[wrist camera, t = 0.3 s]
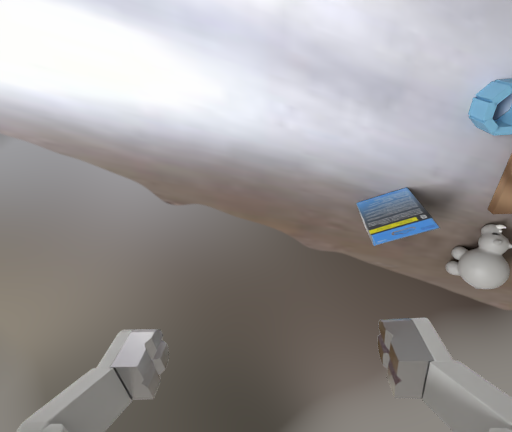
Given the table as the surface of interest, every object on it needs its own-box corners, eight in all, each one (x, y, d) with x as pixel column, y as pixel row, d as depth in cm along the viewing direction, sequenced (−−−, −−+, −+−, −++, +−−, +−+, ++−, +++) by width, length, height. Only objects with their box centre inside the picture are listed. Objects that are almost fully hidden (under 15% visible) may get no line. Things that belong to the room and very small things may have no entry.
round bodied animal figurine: (496, 224, 54) (543, 236, 46) (469, 279, 56) (508, 301, 48) (464, 213, 53) (505, 224, 45) (437, 270, 55) (472, 291, 47)
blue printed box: (360, 218, 52) (379, 264, 42) (355, 202, 51) (374, 245, 40) (411, 203, 50) (444, 248, 40) (407, 185, 48) (441, 227, 38)
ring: (478, 81, 39) (495, 85, 36) (531, 77, 38) (552, 81, 35) (463, 128, 42) (477, 136, 39) (511, 126, 42) (529, 133, 39)
